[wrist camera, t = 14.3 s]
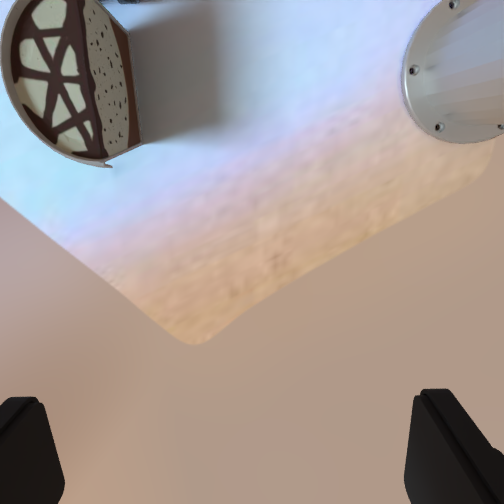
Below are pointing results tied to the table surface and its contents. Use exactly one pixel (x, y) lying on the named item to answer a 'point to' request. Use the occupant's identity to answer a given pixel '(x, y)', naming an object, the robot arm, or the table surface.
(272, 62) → the table surface
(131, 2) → the trolley
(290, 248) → the table surface
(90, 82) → the food container
